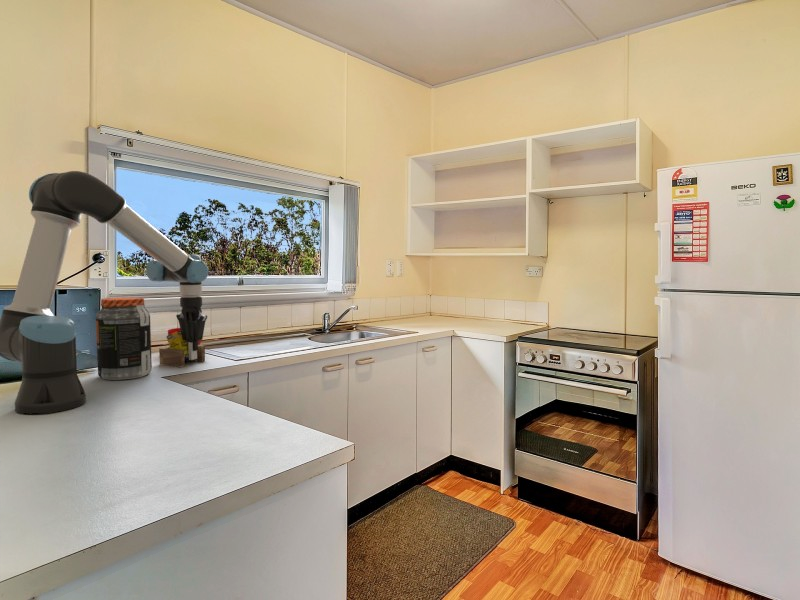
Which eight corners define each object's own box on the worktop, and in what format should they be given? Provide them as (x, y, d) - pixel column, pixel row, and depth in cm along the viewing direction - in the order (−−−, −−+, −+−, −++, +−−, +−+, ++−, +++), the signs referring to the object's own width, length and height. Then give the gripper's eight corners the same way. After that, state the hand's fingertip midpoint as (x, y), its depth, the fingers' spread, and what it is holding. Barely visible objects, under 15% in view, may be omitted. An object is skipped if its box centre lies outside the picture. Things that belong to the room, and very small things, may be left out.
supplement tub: (162, 372, 166) (160, 297, 164) (122, 383, 152) (119, 301, 150) (128, 368, 172) (125, 296, 170) (86, 378, 157) (83, 299, 155)
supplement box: (186, 358, 179) (176, 330, 180) (174, 363, 181) (165, 336, 182) (198, 355, 184) (188, 329, 185) (187, 360, 186) (178, 334, 187)
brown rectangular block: (181, 367, 176) (181, 350, 175) (159, 364, 179) (159, 348, 179) (205, 361, 186) (204, 345, 186) (184, 358, 190) (183, 343, 190)
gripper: (212, 296, 180) (213, 358, 182) (185, 295, 185) (187, 356, 187) (196, 297, 173) (198, 362, 175) (169, 296, 178) (171, 359, 180)
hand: (193, 359), depth 181 cm, fingers closed
